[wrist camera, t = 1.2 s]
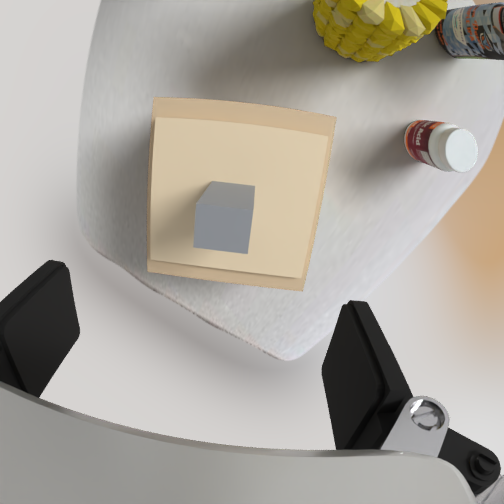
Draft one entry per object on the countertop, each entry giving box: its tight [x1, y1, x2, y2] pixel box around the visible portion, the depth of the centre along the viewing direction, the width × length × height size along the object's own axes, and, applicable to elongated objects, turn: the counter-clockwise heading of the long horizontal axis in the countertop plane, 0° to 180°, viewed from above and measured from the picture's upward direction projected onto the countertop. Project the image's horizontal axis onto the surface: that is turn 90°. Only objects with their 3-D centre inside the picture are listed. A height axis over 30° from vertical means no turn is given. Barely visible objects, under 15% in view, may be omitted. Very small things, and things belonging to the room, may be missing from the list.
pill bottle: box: [404, 120, 478, 172], centre depth 26 cm, size 5×5×8 cm
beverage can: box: [435, 3, 504, 60], centre depth 18 cm, size 6×7×12 cm
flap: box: [150, 117, 328, 278], centre depth 20 cm, size 11×12×6 cm
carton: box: [147, 97, 336, 291], centre depth 27 cm, size 14×13×10 cm
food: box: [313, 0, 448, 62], centre depth 18 cm, size 15×12×10 cm
